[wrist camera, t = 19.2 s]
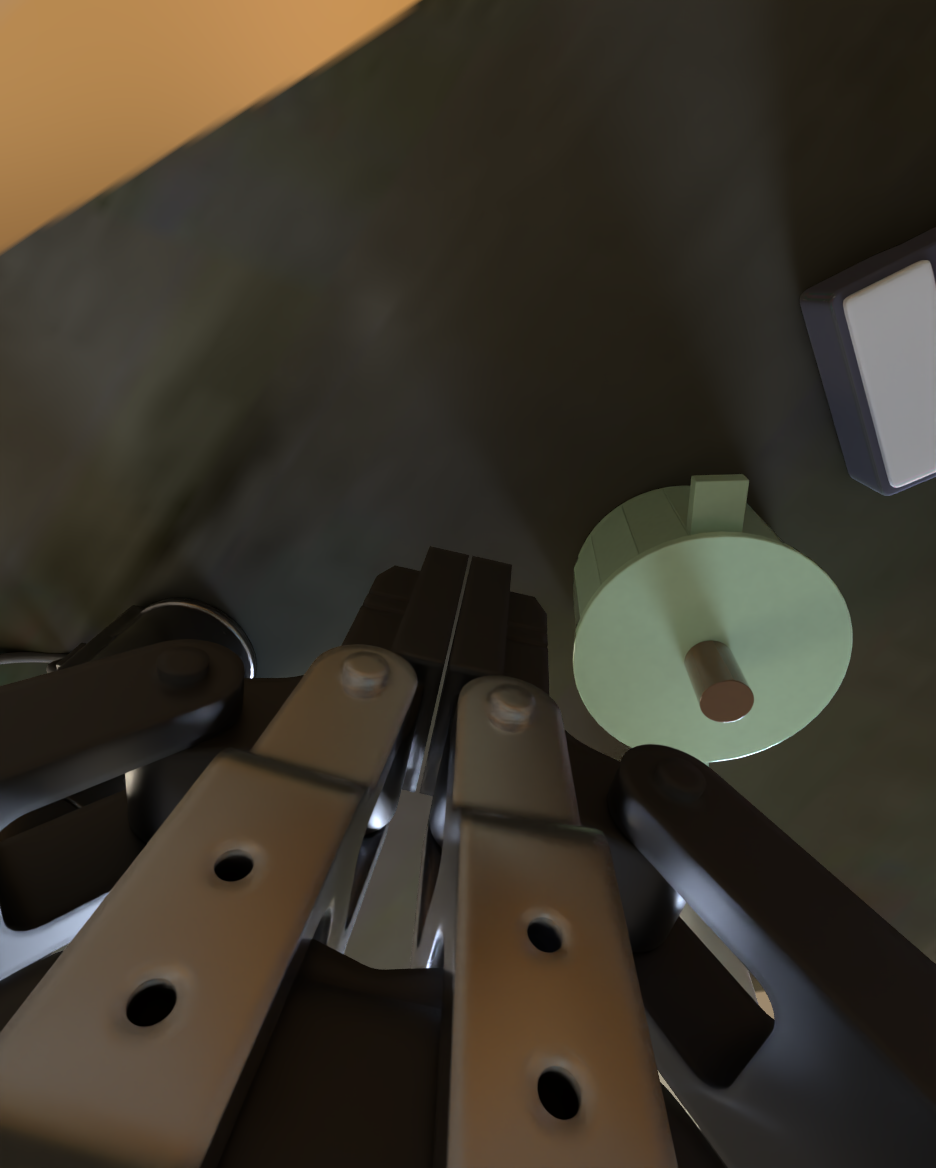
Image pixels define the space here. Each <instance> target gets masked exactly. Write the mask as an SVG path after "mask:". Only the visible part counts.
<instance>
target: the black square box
mask: <svg viewBox="0 0 936 1168" xmlns="http://www.w3.org/2000/svg"><path fill="white" fill-rule="evenodd" d="M800 306H801V309H802V313H803V316H804V320H805V323H806V327H807V330H808V334H809V337H810V341H811V344H812V348H813V351H814V355H815V358H816V362H817V365H818V369H819V372H820V376H821V379H822V383H823V386H824V390H825V393H826V397H827V400H828V404H829V407H830V411H831V414H832V418H833V421H834V425H835V428H836V432H837V435H838V439H839V442H840V445H841V449H842V452H843V456H844V459H845V463H846V466H847V470H848V473H849V475H850V477H851V478H853V479H855V480H857V481H858V482H860V483H862V484H864V485H866V486H867V487H869V488H871V489H873V490H875V491H877V492H878V493H880V494H882V495H885V496H889V495H893V494H895V493H898V492H900V491H902V490H905V489H907V488H910V487H912V486H914V485H917V484H919V483H922V482H924V481H926V480H929V479H931V478H934V477H936V227H934V228H932V229H930V230H928V231H926V232H924V233H922V234H920V235H918V236H916V237H914V238H913V239H911V240H909V241H907V242H905V243H903V244H900V245H898V246H896V247H893V248H891V249H889V250H886V251H884V252H881V253H879V254H876V255H874V256H872V257H870V258H868V259H866V260H864V261H862V262H860V263H858V264H856V265H854V266H852V267H850V268H848V269H846V270H844V271H842V272H840V273H838V274H836V275H834V276H832V277H830V278H828V279H826V280H824V281H822V282H820V283H818V284H816V285H814V286H812V287H810V288H809V289H807V290H805V291H804V292H803V293H802V294H801V296H800Z"/></svg>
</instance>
